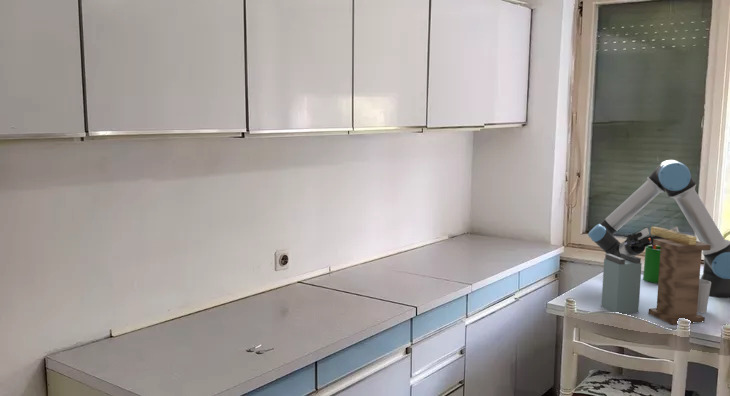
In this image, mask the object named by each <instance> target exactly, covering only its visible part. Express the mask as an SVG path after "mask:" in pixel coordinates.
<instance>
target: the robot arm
mask: <svg viewBox="0 0 730 396" xmlns="http://www.w3.org/2000/svg"><path fill="white" fill-rule="evenodd" d="M646 179H647V180H646V181H645V182H644V183H643V184H642V185H641V186H640V187H639V188H637V189H636V190H635V191H633V192H632V194H631V195H630V196H629V197H627V198H626V199H625V200H624V201H623V202H622V203H621V204H620V205H619V206H617V207H616V209H614V210H613V211H612V212H611V213H610V214H609V215H607V216H606V218H604V219H603V220H602V221H601V222H600V223H598V224H596V225H595V226H593V228H592V229H590V231H589V232H588V235H587V236H588V237H589V238H590V240H592V242H594V243H595V244H596V245H597V246H598V247H599V248H601V250H603V251H604V252H605V254H612V255H615V256H617V257H620V258H621V253H627V254H630V255H632V256H635V257H637V256H638V255H640V254H642V253H643V252H645V250H646V247H647V246H654V244H653V239H666V238H662V237H659V236H655V235H650V232H649V229H648V227H645V228H643V229H642V230H640V231H637V232H636V233H632V234H628V235H627V237H626V239H625V240H624V241H622V242H620V241H619V240H618V239H617V238H616V237H615V236H614V234H616V233H617V232H618V230H620V229H621V228H623V226H624V225H626V224H627V223H628V222H629V221H630V220H631V219H633V218H634V216H636V215H637V214H638V213H639V212H640V211H641V210H642V209H643V208H645V207H646V206H647V205H648V204H649V203H650V202H651V201H653V200H654V199H655V198H656V197H657V196H659V194H660V193H666V194H667V196H668V198H670V199H673V200H675V203H676V204H677V205H678V207H679V209H680V210H681V212H682V213H683V215H684V216H685V219H686V220H687V222H688V224H689V225H690V227H691V230H692V231H693V232H694V233H695V237H697V239H698V242H702V243H706V244H709V245H711V247H710V250H703V251H702V253H701V254H702V255H703V257H704V258H703V271H702V275H701V277H700V279H703V280H707V281H710V282H711V287H710V293H709V296H712V297H719V298H730V240H729V239H725V238H724V235H723V234H722V233H721V231H720V229H719V228H718V226H717V224H716V222H715V221H714V219H713V217H712V216H711V215H710V212H709V211H708V209H707V208H706V206H705V204H704V203H703V201H702V199H701V198H700V196H699V194H698V193H697V191H696V187H697V183H696V182H695V179H694V178H693V177H692V175H691V171H690V169H689V167H688V166H687V165H686V164H685V163H682V162H680V161H679V160H675V159H667V160H664V161H662V162H661V163H660V164H659V165H658V166H657V167H656V168H655V169H654V170H653V171H652V173H650V174H649V175H648V176H647V178H646ZM670 230H672V231H676V232H680V230H679V228H678V226H674V227H671V229H670ZM649 238H650V239H651V241H649Z"/></svg>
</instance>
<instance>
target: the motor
mask: <svg viewBox="0 0 730 396" xmlns="http://www.w3.org/2000/svg"><path fill="white" fill-rule="evenodd" d="M649 241H651V239H650V238H649ZM660 250H661V246H657V245H654V246H652V245H649V246H647V247H645V250H644V264H643V278H642V279H643V280H644V281H645V282H647V283H653V284H658V279H659V265H660Z"/></svg>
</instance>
